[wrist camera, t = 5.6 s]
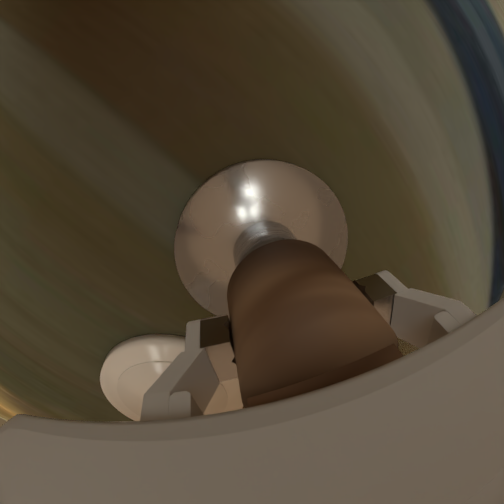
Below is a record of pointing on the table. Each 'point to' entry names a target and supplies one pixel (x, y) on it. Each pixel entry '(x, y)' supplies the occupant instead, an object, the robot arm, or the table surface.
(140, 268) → the table surface
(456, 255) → the table surface
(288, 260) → the cap
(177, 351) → the saucer
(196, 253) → the pedestal
